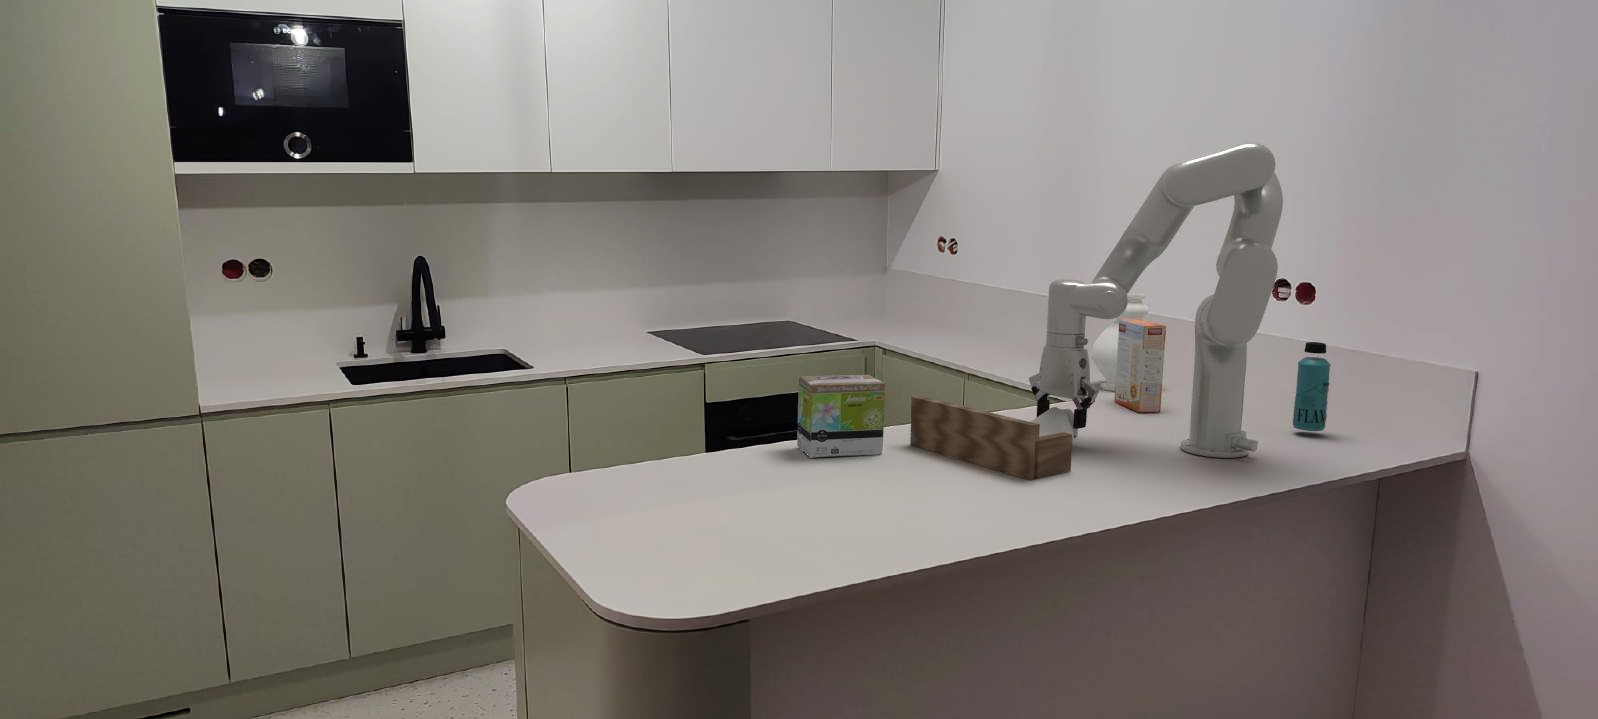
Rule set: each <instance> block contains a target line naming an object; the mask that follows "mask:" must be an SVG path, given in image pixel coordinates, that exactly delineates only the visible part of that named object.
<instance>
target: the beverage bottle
mask: <svg viewBox="0 0 1598 719" xmlns="http://www.w3.org/2000/svg"><path fill="white" fill-rule="evenodd" d="M1304 347H1305V348H1304V353H1308V354H1318V355H1319V354H1323V355H1324V354H1327V344H1326V343H1324V342H1319V341H1308V342H1305V346H1304ZM1330 370H1331V363H1330V362H1329V361H1328V360H1327V359H1326V358H1324V357H1323V358H1322V357H1317V356H1316V357H1314V356H1307V357H1303V358H1302V359H1300V360H1299V361H1298V362H1297V375H1296V376H1297V377H1296V389H1295V397H1294V398H1295V399H1294V405H1293V412H1292V413H1293V414H1292V422H1291V423H1292V426H1293V428H1294V429H1296V430H1301V431H1307V432H1309V431H1310V432H1322V431H1324V430H1325V428H1326V426H1327V423H1326V422H1327V417H1328V413H1327V409H1328V404H1329V402H1328V398H1329V391H1330V390H1329V387H1330V379H1331V378H1330Z"/></svg>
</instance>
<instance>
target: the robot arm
mask: <svg viewBox="0 0 1598 719" xmlns="http://www.w3.org/2000/svg"><path fill="white" fill-rule="evenodd" d="M1275 170H1276V158H1275V156H1274V154H1273V152H1272V151H1271V150H1270V149H1269V148H1268V147H1267V146H1265V145H1263V144H1262V143H1257V142H1247V143H1244V144H1238V145H1236V146H1233V147H1231V148H1229V149H1225V150H1222V151H1219V152H1216V153H1213V154H1210V155H1205V156H1202V157H1199V158H1195V159H1190V160H1187V161H1183V162H1178V163H1175V164H1172V165H1171V166H1169V167H1167V168H1166V169H1165V170H1164V171H1163V173H1162V174H1161V175H1160V177H1159V178H1158V180H1157V181H1156V183H1155V185H1154V186H1153V187H1152V189H1151V191H1149V192H1150V193H1149V194H1148V196H1147V197H1146V199H1145V200H1144V202H1143V203H1142V205H1141V206H1140V208H1139V209H1138V211H1137V213H1136V214H1135V216H1134V217H1133V218H1132V220H1131V222H1130V223H1129V224H1128V226H1127V227H1126V229H1125V230H1124V231H1123V233H1122V235H1121V237H1120V238H1119V240H1118V242H1117V243H1116V245H1115V246H1114V248H1113V249H1112V251H1111V252H1110V254H1109V256H1108V257H1107V258H1106V260H1105V261H1104V262H1103V264H1102V266H1101V268H1100V269H1099V270H1098V272H1097V273H1096V274H1095V276H1094V278H1093V279H1092V281H1091V282H1089V283H1088V282H1084V281H1081V280H1075V279H1055V280H1053V281H1051V283H1050V284H1049V286H1048V302H1047V304H1048V305H1047V322H1046V340H1045V345H1044V347H1043V350H1042V353H1041V358H1040V365H1039V372H1038V373H1036V374H1034V375H1032V376H1029V378H1028V381H1029V384H1030V387H1031V391H1032V394H1033V395H1034V400H1035V401H1036V417H1035V418H1037V417H1038V416H1040V415H1041V414H1043V413H1044V412H1046V411H1047V410H1049V409H1050V406H1051V405H1050V404H1051V402H1050V399H1049V397H1050V396H1056V397H1059V398H1060V397H1061V398H1065V399H1071V400H1072V402H1073V404H1074V405H1075V407H1076V408H1075V409H1074V410H1073V413H1074V420H1073V428H1074V429H1084V428H1086V426H1087V418H1088V409H1090V408H1091V406H1092V405H1093V404H1094V403H1095V402H1096V399H1097V396H1098V395H1099V393H1100V390H1099V389H1098V388H1097V387H1096V386H1095V385H1094V384H1093V383H1091V369H1090V368H1091V366H1090V359H1089V358H1090V357H1089V353H1088V349H1087V348H1085V346H1086V345H1088V343H1089V342H1088V341H1089V340H1088V339H1087V338H1085V337H1086V336H1085V335H1086V333H1085V331H1086V318H1087V317H1090V318H1095V319H1100V320H1113V319H1117V318H1116V317H1118V316H1120V315H1121V314H1122V313H1123V312H1124V311H1125V309H1126V307H1127V304H1128V297H1127V294H1128V293H1130V291H1131V289H1132V288H1133V287H1134V285H1135V284H1136V282H1137V281H1138V279H1139V277H1140V276H1141V275H1142V274H1143V272H1144V271H1145V270H1146V268H1148V266H1149V265H1151V263H1153V262H1154V261H1155V260H1156V259H1158V258H1159V257H1160V256H1161V255H1162V254H1163V253H1164V252H1165V250H1166V249H1167V248H1168V247H1169V245H1170V244H1171V242H1172V241H1173V239H1174V237H1175V236H1176V234H1177V233H1178V232H1179V230H1180V229H1181V227H1182V225H1183V224H1184V223H1185V221H1186V219H1187V218H1188V217H1189V215H1190V214H1191V212H1192V211H1193V209H1194V208H1195V207H1196V206H1199V205H1204V204H1207V203H1212V202H1215V201H1218V200H1222V199H1226V198H1229V197H1232V196H1233V199H1234V205H1233V211H1232V216H1231V219H1230V222H1229V226H1228V229H1227V232H1226V235H1225V237H1224V240H1223V243H1222V246H1221V248H1220V251H1219V253H1218V256H1217V259H1216V263H1215V266H1216V273H1217V276H1218V277H1219V278H1218V281H1217V285H1216V288H1215V291H1214V293H1213V294H1211V295H1209V296H1207V297H1206V298H1205V299H1203V300H1202V301H1201V303H1200V304H1199V306H1198V308H1197V310H1196V313H1195V318H1194V363H1193V364H1194V365H1193V377H1192V389H1191V390H1192V393H1191V410H1190V421H1189V422H1190V424H1189V437H1188V438H1187V439H1182V441H1181V442H1180V449H1181V450H1182V451H1184V452H1186V453H1189V454H1192V455H1196V456H1197V455H1198V456H1201V457H1202V456H1203V457H1209V458H1218V459H1220V458H1221V459H1222V458H1223V459H1227V458H1228V459H1229V458H1230V459H1232V458H1241V457H1245V456H1247V455H1248V454H1249V452H1252V453H1253V452H1256V451H1257V449H1258V445H1259V442H1258V440H1257V439H1250V438H1247V431H1246V430H1242V424H1243V423H1242V422H1243V413H1244V412H1243V409H1244V400H1245V398H1244V397H1245V385H1246V384H1245V383H1246V375H1247V374H1246V373H1247V357H1248V356H1247V354H1248V353H1247V352H1248V351H1247V350H1248V349H1247V347H1248V345H1247V344H1248V342H1251V340H1252V339H1253V338H1254V337H1255V336H1256V334H1257V332H1258V330H1259V328H1260V325H1261V323H1262V321H1263V318H1264V315H1265V313H1266V310H1267V306H1268V303H1269V301H1270V297H1271V295H1272V293H1273V289H1274V287H1275V286H1274V285H1275V283H1276V280H1277V275H1278V266H1279V265H1278V259H1277V257H1276V254H1275V252H1274V251H1273V250H1272V248H1273V245H1274V241H1275V239H1276V236H1277V233H1278V228H1279V224H1280V220H1281V217H1282V213H1283V206H1284V198H1283V197H1284V196H1283V190H1282V186H1281V183H1280V181H1279V179H1278V176H1277V174H1276V173H1275Z"/></svg>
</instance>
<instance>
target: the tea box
mask: <svg viewBox="0 0 1598 719" xmlns="http://www.w3.org/2000/svg"><path fill="white" fill-rule="evenodd" d="M885 394H886V383H885V382H883V381H881V380H880V379H878V378H876V377H874V376H872V375H870V374H846V375H844V374H843V375H840V374H839V375H838V374H837V375H817V376H816V375H814V376H813V375H812V376H811V375H806V376H805V375H804V376H803V375H802V376H799V377H798V396H797V397H798V399H797V435H796V436H797V437H796V438H797V440H796V441H797V443H796V445H797V448H799V449H800V451H802V450H803V451H804V452H805V453H806V454H808V456H809V457H808V456H807V457H808V458H810V459H814V458H826V457H848V456H850V457H851V456H855V457H856V456H878V455H877V454H881V455H883V446H884V426H885V425H884V423H885V421H884V420H885V400H886V399H885V396H886V395H885ZM803 451H802V452H803ZM804 452H803V453H804ZM805 453H804V454H805ZM806 454H805V455H806Z"/></svg>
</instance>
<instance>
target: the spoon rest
mask: <svg viewBox="0 0 1598 719" xmlns="http://www.w3.org/2000/svg"><path fill="white" fill-rule="evenodd" d="M1073 420H1074V411H1073V410H1072V409H1070V408H1059V407H1057V406H1053V407H1051V408H1049V410H1047V411H1046V412H1044V413H1043V414H1041V415H1040V416H1038V417H1037V418H1036V417H1035V418H1033V419H1032V420H1030V421H1029V422H1033V423H1037V424H1040V431H1039V437H1041V436H1046V435H1052V434H1057V433H1062V432H1065V433H1070V434H1072V441H1073V440H1074V437H1076V436H1077V437H1078V435H1079V430H1078V429H1074V428H1073Z"/></svg>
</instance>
